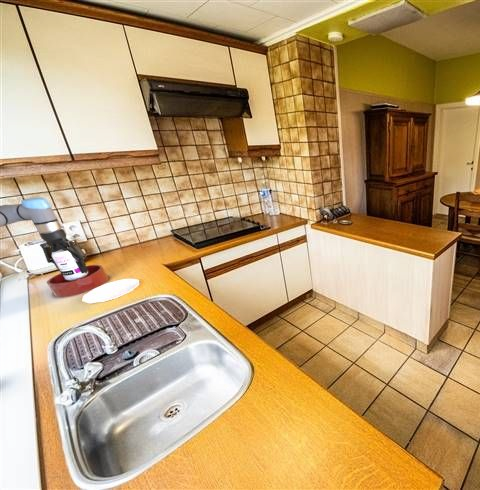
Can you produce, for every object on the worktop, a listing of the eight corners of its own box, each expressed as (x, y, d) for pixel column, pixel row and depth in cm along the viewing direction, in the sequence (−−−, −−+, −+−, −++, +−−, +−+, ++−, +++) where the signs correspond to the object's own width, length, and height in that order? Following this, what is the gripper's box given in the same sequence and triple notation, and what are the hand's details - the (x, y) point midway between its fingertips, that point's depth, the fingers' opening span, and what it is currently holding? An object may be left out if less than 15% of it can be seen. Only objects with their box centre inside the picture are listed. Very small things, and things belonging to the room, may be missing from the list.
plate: (149, 279, 139) (148, 276, 139) (122, 302, 120) (120, 299, 120) (105, 284, 137) (104, 281, 136) (70, 308, 118) (68, 305, 117)
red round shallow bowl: (42, 299, 126) (34, 286, 123) (77, 278, 144) (71, 267, 141) (87, 294, 128) (80, 282, 125) (117, 274, 146) (111, 263, 143)
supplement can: (87, 271, 139) (73, 245, 133) (89, 275, 134) (75, 249, 128) (65, 277, 134) (49, 251, 128) (66, 282, 129) (50, 255, 123)
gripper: (82, 226, 129) (103, 267, 138) (34, 230, 126) (59, 271, 135) (69, 231, 122) (92, 274, 131) (17, 235, 119) (44, 279, 129)
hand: (75, 272), depth 133 cm, fingers closed on supplement can, 8 cm apart
